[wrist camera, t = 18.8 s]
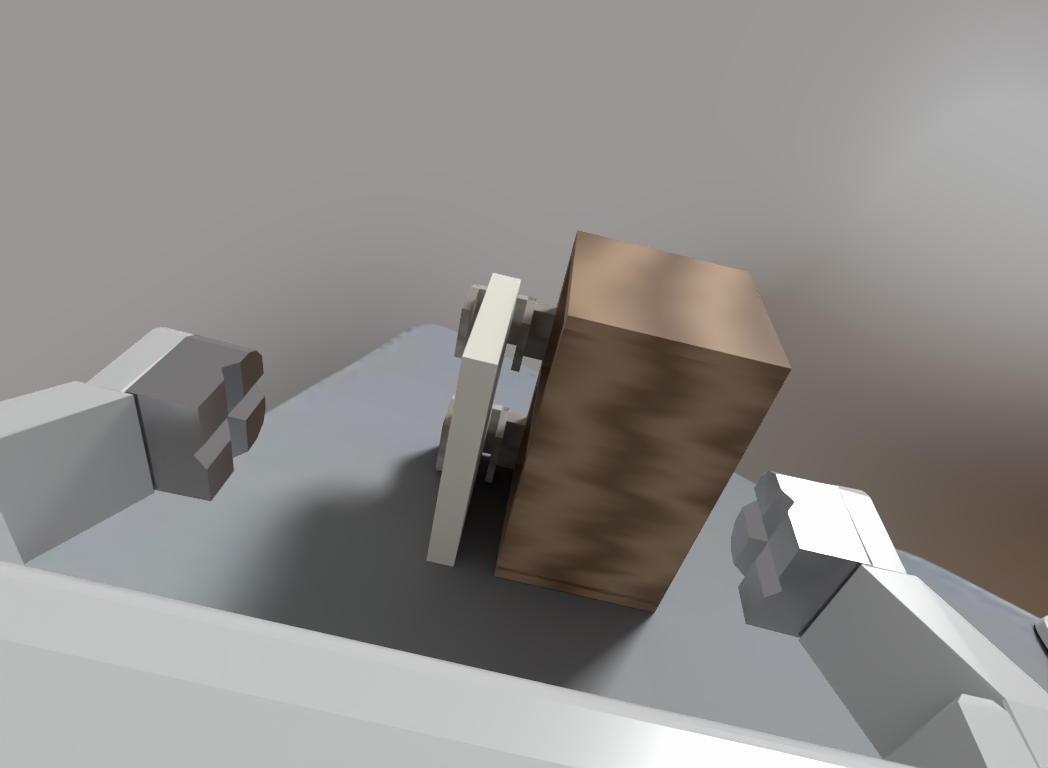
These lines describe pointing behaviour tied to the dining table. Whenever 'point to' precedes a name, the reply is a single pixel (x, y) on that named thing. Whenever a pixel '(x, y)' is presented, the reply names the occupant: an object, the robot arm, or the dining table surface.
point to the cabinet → (626, 416)
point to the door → (471, 416)
